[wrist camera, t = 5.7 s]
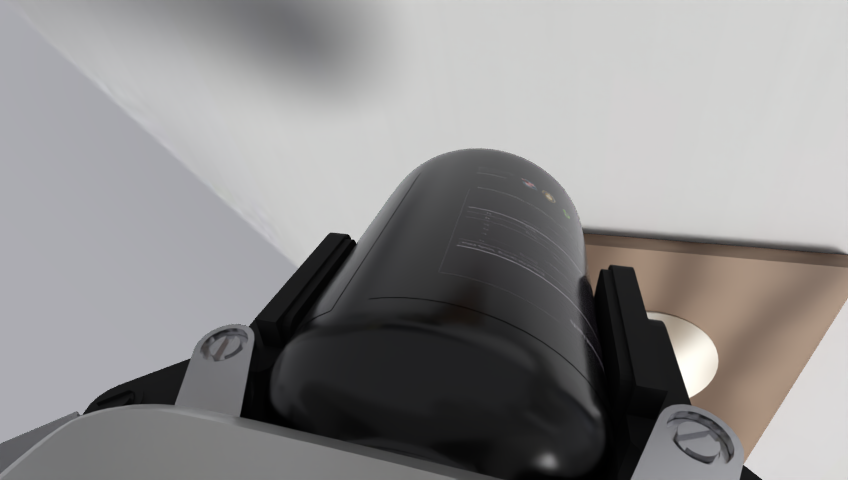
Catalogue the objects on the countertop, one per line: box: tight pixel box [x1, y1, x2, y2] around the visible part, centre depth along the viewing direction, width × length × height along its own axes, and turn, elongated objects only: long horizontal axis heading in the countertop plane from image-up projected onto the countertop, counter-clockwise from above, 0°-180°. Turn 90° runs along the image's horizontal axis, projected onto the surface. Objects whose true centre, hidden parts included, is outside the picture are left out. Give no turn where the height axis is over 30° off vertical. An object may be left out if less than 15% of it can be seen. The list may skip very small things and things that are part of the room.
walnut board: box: [583, 233, 848, 464], centre depth 32 cm, size 20×20×2 cm
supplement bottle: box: [262, 148, 618, 480], centre depth 10 cm, size 7×7×12 cm
